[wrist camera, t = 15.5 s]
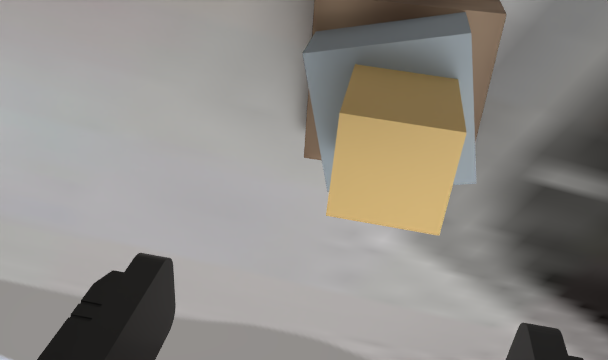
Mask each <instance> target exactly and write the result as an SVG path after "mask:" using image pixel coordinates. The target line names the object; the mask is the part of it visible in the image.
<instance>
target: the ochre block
mask: <svg viewBox="0 0 608 360" xmlns="http://www.w3.org/2000/svg"><path fill="white" fill-rule="evenodd" d="M466 134H467V132H466V125H465V119H464V113H463V106H462V100H461V94H460V88H459V81H458V79H453V78H447V77H440V76H433V75H426V74H419V73H412V72H406V71H399V70H392V69H385V68H378V67H371V66H364V65H358V64H355V65H354V69H353V72H352V75H351V78H350V81H349V85H348V88H347V91H346V94H345V97H344V100H343V104H342V107H341V110H340V113H339V121H338V129H337V136H336V144H335V151H334V159H333V166H332V174H331V182H330V189H329V197H328V204H327V212H326V216H331V217H337V218H343V219H348V220H354V221H360V222H365V223H371V224H377V225H382V226H388V227H394V228H399V229H405V230H411V231H416V232H422V233H428V234H433V235H439V234H440V231H441V227H442V223H443V220H444V216H445V212H446V208H447V205H448V201H449V197H450V193H451V190H452V186H453V182H454V178H455V175H456V171H457V167H458V163H459V160H460V156H461V152H462V148H463V145H464V141H465V137H466Z"/></svg>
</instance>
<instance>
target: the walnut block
mask: <svg viewBox="0 0 608 360" xmlns="http://www.w3.org/2000/svg"><path fill="white" fill-rule="evenodd" d="M461 12H466V15H467V19H468V22H469V26H470V30H471V36H472V66H473V96H474V126H475V141H476V137H477V133H478V129H479V125H480V121H481V117H482V113H483V108H484V104H485V100H486V96H487V92H488V88H489V84H490V80H491V76H492V72H493V68H494V63H495V59H496V55H497V51H498V47H499V43H500V39H501V35H502V31H503V27H504V23H505V19H506V12H505V10H504V8H503V6H502V4H501V2H500V0H315V1H314V15H313V30H312V37H313V35H314V34H315V32H316V31H323V30H331V29H339V28H346V27H354V26H362V25H369V24H377V23H384V22H392V21H400V20H407V19H415V18H423V17H430V16H438V15H445V14H453V13H461ZM304 158H310V159H317V160H322V159H321V153H320V148H319V142H318V136H317V131H316V125H315V120H314V114H313V109H312V103H311V98H310V92H309V89H308V104H307V119H306V134H305V149H304Z"/></svg>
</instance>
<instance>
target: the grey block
mask: <svg viewBox="0 0 608 360" xmlns="http://www.w3.org/2000/svg"><path fill="white" fill-rule="evenodd" d="M303 59H304V65H305V70H306V76H307V81H308V87H309V92H310V98H311V103H312V109H313V114H314V120H315V125H316V131H317V136H318V142H319V148H320V153H321V159H322V164H323V170H324V175H325V181H326V186H327V192H329V189H330V182H331V174H332V166H333V159H334V151H335V144H336V136H337V129H338V121H339V113H340V110H341V107H342V104H343V100H344V97H345V94H346V91H347V88H348V85H349V81H350V78H351V75H352V72H353V69H354V65H355V64H358V65H364V66H371V67H378V68H385V69H392V70H399V71H406V72H412V73H419V74H426V75H433V76H440V77H447V78H453V79H458V81H459V88H460V94H461V100H462V106H463V113H464V119H465V125H466V132H467V134H466V137H465V141H464V145H463V148H462V152H461V156H460V160H459V163H458V167H457V171H456V175H455V178H454V182H453V185H459V184H476V156H475V126H474V96H473V66H472V36H471V30H470V26H469V22H468V19H467V15H466V12H461V13H453V14H445V15H438V16H430V17H423V18H415V19H407V20H400V21H392V22H384V23H377V24H369V25H362V26H354V27H346V28H339V29H331V30H323V31H316V32H315V34H314V35H313V37H312V39H311V40H310V42H309V44H308V45H307V47H306V49H305V50H304V52H303Z"/></svg>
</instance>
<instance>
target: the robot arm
mask: <svg viewBox="0 0 608 360" xmlns="http://www.w3.org/2000/svg"><path fill="white" fill-rule="evenodd" d="M174 314H175V290H174V273H173V262H172V259H171V258H167V257H161V256H155V255H150V254H144V253H139V254H137V255H136V256H135V258H134V259H133V260H132V262H131V263H130V265H129V266H128V268H127V269H126V271H125V272H119V271H111V272H110V273H108V274H107V275H105V276H104V277H103V278H101V279H100V280H98V281H97V282H95V283H94V284H93V285H92V286H91V288H90V289H89V290H88V292H87V293H86V295H85V296H84V297H83V299H82V300H81V303H80V304H78V305H77V307H76V308H75V309H74V311H73V312H72V313H71V317H70V318H68V319H67V320H66V321H65V323H64V324H63V326H62V327H61V328H60V330H59V331H58V332H57V334H56V335H55V336H54V338H53V339H52V340H51V342H50V343H49V345H48V346H47V347H46V348H45V350H44V351H43V352H42V354H41V355H40V356H39V358H38V359H37V360H155V359H156V357H157V355H158V353H159V351H160V349H161V347H162V345H163V343H164V341H165V339H166V337H167V335H168V333H169V331H170V329H171V326H172V323H173V319H174ZM506 360H583V358H579V357H574V356H568V354H567V350H566V347H565V343H564V340H563V337H562V334H561V332H560V330H559V329H556V328H550V327H545V326H539V325H533V324H528V323H521V324H520V326H519V328H518V330H517V333H516V335H515V338H514V340H513V343H512V345H511V348H510V350H509V353H508V355H507V358H506Z"/></svg>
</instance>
